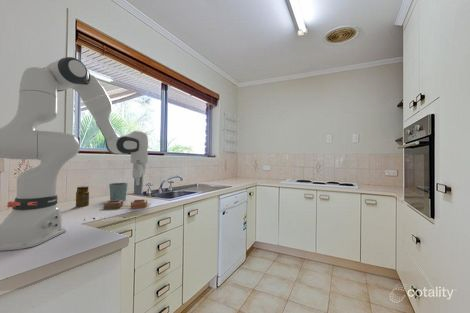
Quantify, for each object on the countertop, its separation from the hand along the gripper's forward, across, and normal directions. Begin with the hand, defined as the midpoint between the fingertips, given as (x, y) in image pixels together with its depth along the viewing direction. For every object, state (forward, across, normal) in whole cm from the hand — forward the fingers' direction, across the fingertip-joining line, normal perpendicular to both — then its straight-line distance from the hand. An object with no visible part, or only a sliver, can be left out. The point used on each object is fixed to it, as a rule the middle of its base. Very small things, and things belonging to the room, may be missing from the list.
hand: (138, 184), depth 123 cm
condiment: (+14, +6, +30) cm, 33 cm away
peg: (+5, 0, 0) cm, 5 cm away
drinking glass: (+14, +18, +14) cm, 27 cm away
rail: (+14, -1, +6) cm, 15 cm away
